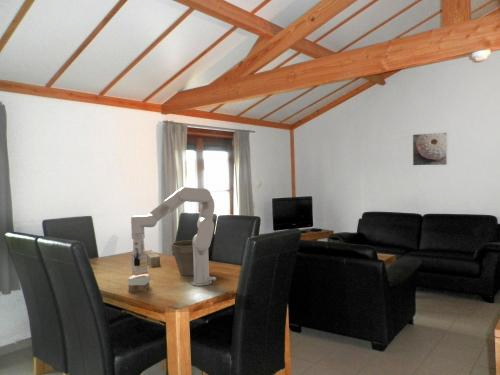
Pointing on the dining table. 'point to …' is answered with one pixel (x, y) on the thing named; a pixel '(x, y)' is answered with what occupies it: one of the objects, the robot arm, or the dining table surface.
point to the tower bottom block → (138, 287)
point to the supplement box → (143, 264)
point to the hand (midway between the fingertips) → (139, 264)
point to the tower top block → (139, 279)
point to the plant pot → (184, 256)
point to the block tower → (152, 259)
